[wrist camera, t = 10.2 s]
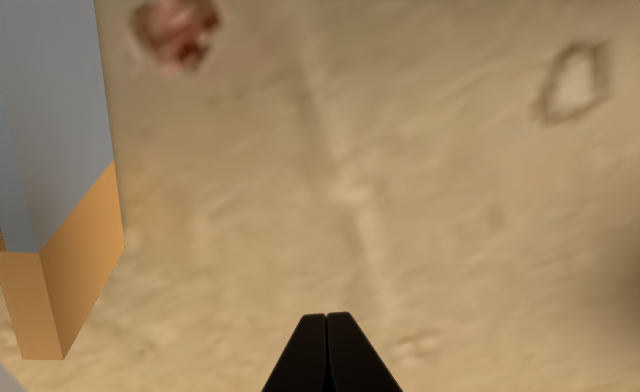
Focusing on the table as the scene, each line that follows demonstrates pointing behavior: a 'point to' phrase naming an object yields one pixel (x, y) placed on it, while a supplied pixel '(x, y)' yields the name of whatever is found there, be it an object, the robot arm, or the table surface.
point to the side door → (54, 173)
